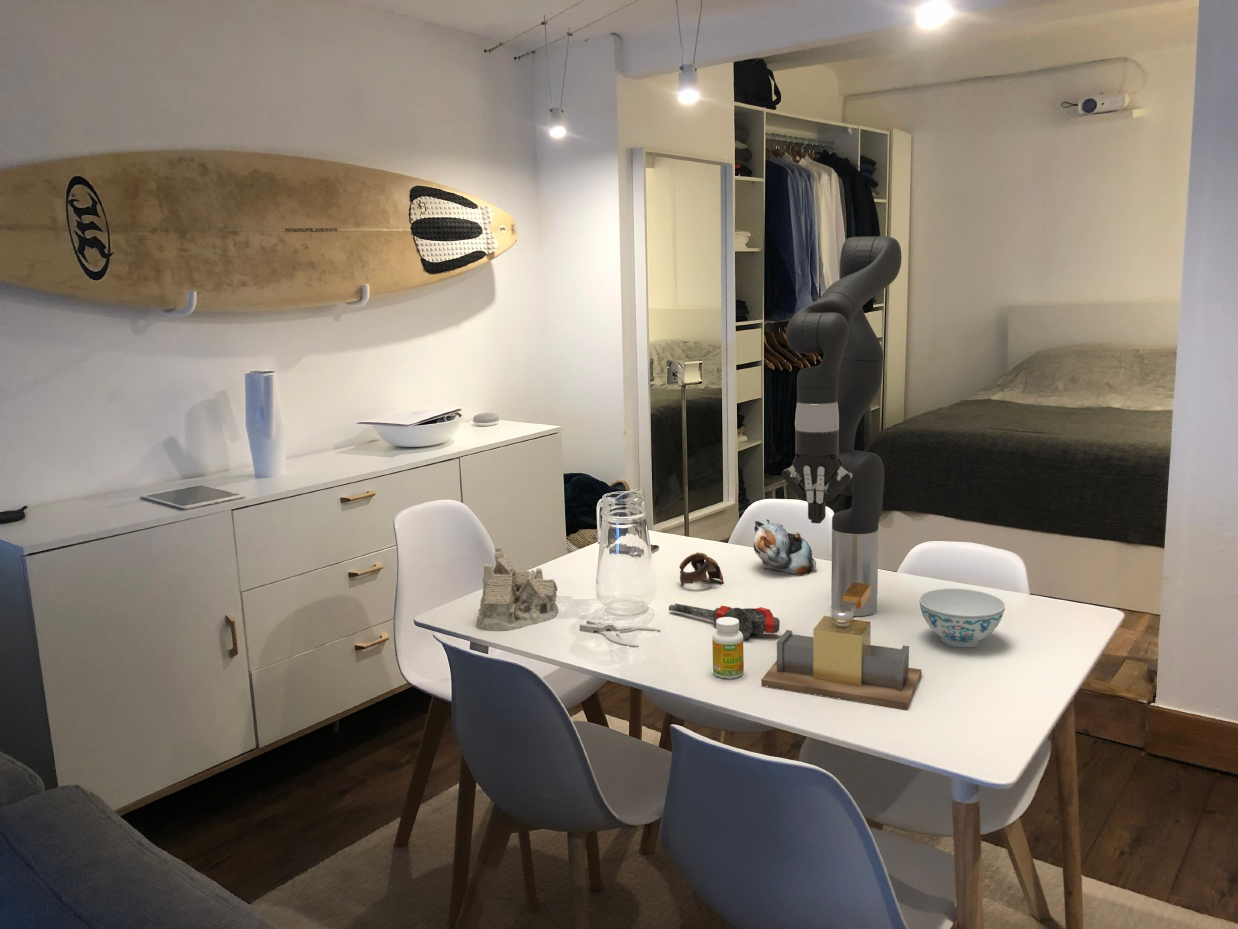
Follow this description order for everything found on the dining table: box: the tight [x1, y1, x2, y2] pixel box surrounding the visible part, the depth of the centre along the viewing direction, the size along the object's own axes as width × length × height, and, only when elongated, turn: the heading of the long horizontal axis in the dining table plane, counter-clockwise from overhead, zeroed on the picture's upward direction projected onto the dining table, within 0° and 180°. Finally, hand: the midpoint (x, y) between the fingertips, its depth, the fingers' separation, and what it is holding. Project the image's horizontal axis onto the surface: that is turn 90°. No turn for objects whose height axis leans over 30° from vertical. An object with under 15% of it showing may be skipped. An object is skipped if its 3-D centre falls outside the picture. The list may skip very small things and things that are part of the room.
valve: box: [668, 603, 781, 641], centre depth 190 cm, size 6×26×15 cm
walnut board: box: [760, 660, 923, 711], centre depth 161 cm, size 14×24×1 cm, turn 64°
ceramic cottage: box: [476, 545, 560, 632], centre depth 196 cm, size 16×16×15 cm
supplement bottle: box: [711, 617, 745, 680], centre depth 165 cm, size 5×5×10 cm
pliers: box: [579, 619, 661, 648], centre depth 186 cm, size 10×2×15 cm
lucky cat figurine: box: [752, 518, 817, 576], centre depth 222 cm, size 15×12×14 cm
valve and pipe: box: [776, 615, 910, 691], centre depth 160 cm, size 7×21×10 cm, turn 64°
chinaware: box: [918, 588, 1006, 648], centre depth 176 cm, size 15×15×8 cm
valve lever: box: [830, 582, 871, 622], centre depth 164 cm, size 17×4×2 cm, turn 154°
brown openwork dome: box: [678, 551, 725, 586], centre depth 215 cm, size 12×10×8 cm
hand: (816, 522), depth 170 cm, fingers closed
